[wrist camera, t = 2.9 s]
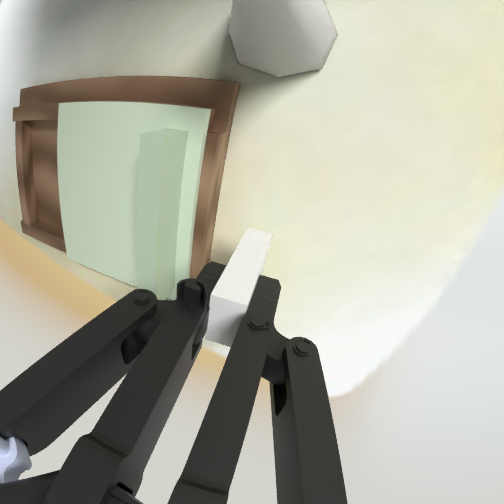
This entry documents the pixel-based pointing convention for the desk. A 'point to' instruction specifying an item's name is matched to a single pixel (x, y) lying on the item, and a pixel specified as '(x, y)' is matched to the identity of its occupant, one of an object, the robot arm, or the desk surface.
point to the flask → (282, 35)
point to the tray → (118, 90)
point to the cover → (131, 188)
